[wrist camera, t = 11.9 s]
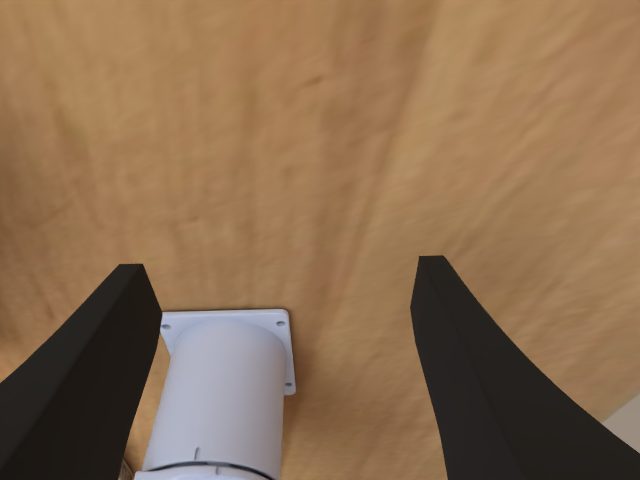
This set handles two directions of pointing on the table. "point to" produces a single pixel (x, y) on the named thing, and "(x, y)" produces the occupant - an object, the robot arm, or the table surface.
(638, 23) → the table surface
